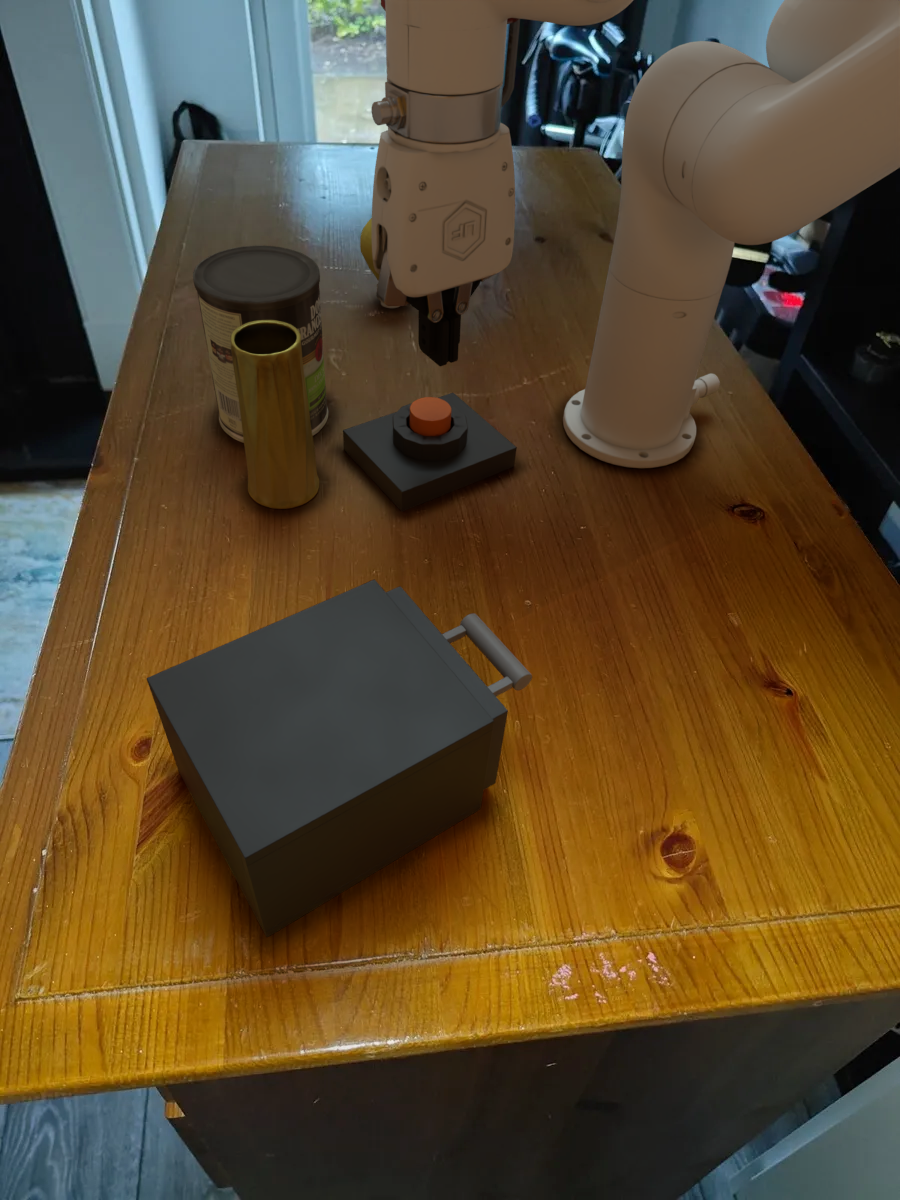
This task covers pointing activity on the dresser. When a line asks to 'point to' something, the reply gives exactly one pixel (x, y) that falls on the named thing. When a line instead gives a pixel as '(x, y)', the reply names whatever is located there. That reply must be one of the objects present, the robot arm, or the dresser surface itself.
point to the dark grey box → (323, 748)
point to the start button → (430, 416)
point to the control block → (428, 454)
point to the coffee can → (260, 318)
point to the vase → (274, 414)
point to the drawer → (492, 651)
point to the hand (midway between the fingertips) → (438, 355)
